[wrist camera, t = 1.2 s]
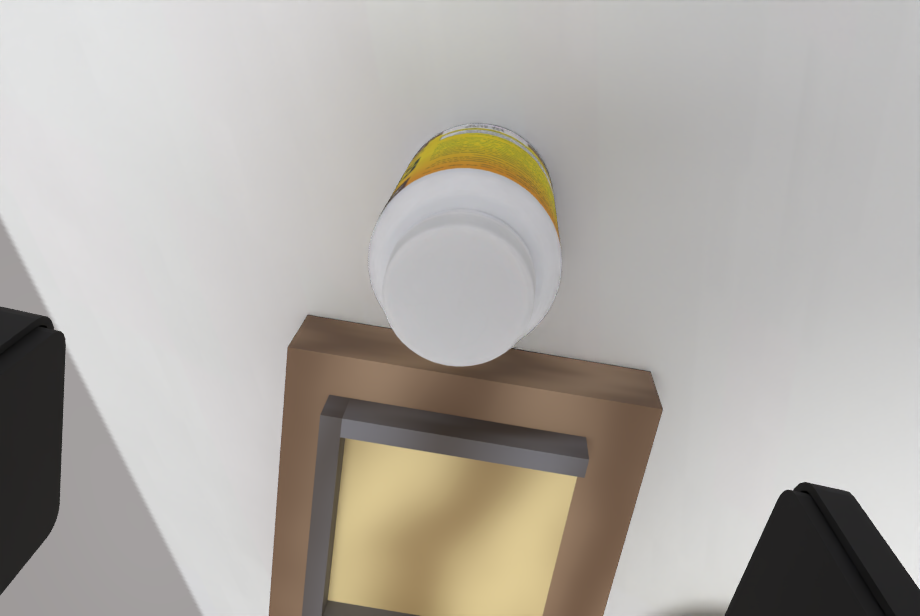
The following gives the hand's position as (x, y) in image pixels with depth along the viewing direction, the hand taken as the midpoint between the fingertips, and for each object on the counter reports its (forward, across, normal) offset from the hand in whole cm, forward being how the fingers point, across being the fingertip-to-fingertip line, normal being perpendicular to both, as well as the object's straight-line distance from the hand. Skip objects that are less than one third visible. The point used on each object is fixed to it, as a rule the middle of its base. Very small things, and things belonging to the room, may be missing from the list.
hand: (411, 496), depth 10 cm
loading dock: (+21, -3, +14) cm, 25 cm away
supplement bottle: (+21, -1, +1) cm, 21 cm away
